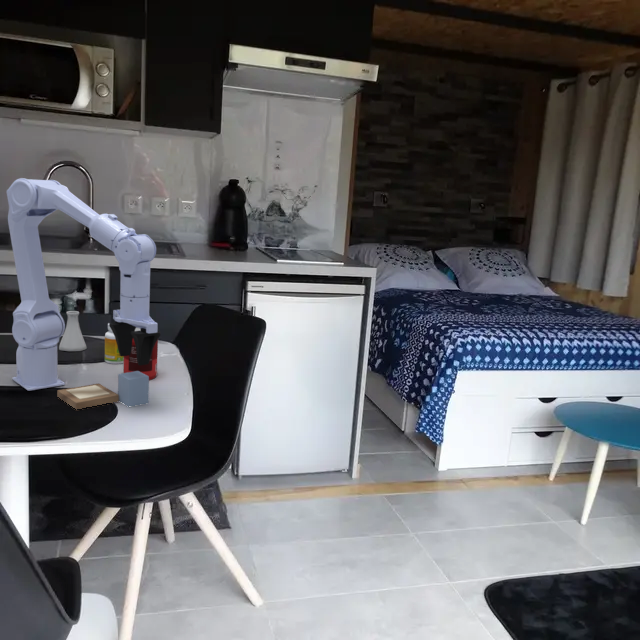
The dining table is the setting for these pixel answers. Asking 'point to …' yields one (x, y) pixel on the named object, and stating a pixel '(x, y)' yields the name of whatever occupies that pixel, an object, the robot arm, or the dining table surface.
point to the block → (133, 388)
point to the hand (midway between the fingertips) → (134, 359)
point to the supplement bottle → (112, 349)
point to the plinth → (87, 396)
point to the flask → (72, 334)
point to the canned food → (148, 369)
